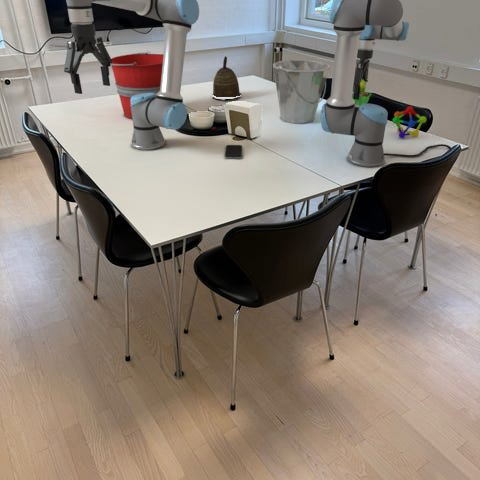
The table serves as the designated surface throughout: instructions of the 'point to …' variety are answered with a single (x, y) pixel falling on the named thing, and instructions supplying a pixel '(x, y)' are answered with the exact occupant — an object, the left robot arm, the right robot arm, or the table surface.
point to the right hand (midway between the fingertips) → (358, 97)
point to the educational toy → (410, 123)
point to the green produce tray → (362, 94)
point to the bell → (225, 82)
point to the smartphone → (233, 151)
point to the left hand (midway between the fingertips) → (93, 89)
